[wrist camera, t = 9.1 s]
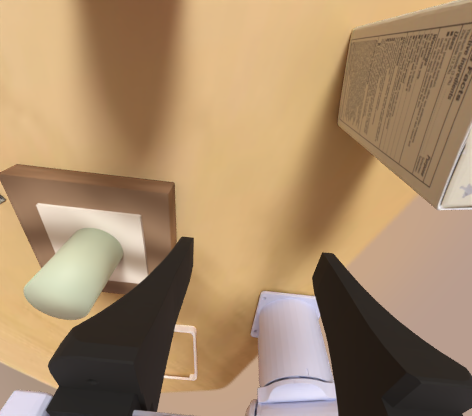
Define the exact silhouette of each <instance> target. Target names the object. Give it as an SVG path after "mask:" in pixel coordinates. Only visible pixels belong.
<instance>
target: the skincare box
mask: <svg viewBox="0 0 472 416" xmlns="http://www.w3.org/2000/svg"><path fill="white" fill-rule="evenodd" d="M337 124H338V126H339V127H340V128H341V129H343V130H344V131H345V132H346V133H347V134H349V135H350V136H351V137H352V138H353V139H355V140H356V141H357V142H358V143H359V144H360V145H362V146H363V147H364V148H365V149H366V150H367V151H369V152H370V153H371V154H372V155H373V156H375V157H376V158H377V159H378V160H379V161H380V162H381V163H383V164H384V165H385V166H386V167H387V168H388V169H390V170H391V171H392V172H393V173H394V174H396V175H397V176H398V177H399V178H400V179H402V180H403V181H404V182H405V183H406V184H407V185H409V186H410V187H411V188H412V189H413V190H414V191H416V192H417V193H418V194H419V195H420V196H421V197H423V198H424V199H425V200H426V201H427V202H428V203H430V204H431V205H432V206H433V207H434V208H436V209H437V210H471V209H472V0H456V1H452V2H449V3H445V4H441V5H438V6H434V7H430V8H426V9H423V10H419V11H415V12H411V13H407V14H403V15H400V16H396V17H392V18H389V19H385V20H381V21H377V22H374V23H369V24H366V25H362V26H359V27H356V28H354V29H353V30H352V33H351V39H350V44H349V50H348V56H347V62H346V68H345V74H344V80H343V87H342V93H341V100H340V106H339V115H338V123H337Z"/></svg>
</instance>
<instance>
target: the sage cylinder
mask: <svg viewBox="0 0 472 416" xmlns="http://www.w3.org/2000/svg"><path fill="white" fill-rule="evenodd" d="M122 257H123V249H122V246H121V244H120V243H119V241H118V240H117V239H116V238H115V237H113V236H112V235H110V234H109V233H107V232H105V231H103V230H100V229H96V228H83V229H80V230H78V231H77V232H75V233H74V234H73V236H72V237H71V238H70V239H69V240H68V241H67V242H66V243H65V244H64V245H63V246H62V247H61V248H60V249H59V250H58V251H57V253H56V254H55V255H54V256H53V257H52V258H51V259H50V260H49V261H48V262H47V263H46V264H45V265H44V266H43V267H42V268H41V269H40V271H39V272H38V273H37V274H36V275H35V276H34V277H33V278H32V279H31V280H30V281H29V282H28V283H27V284H26V286H25V287H24V295H25V298H26V299H27V301H28V302H29V303H30V304H31V305H32V306H33V307H35V308H36V309H38V310H39V311H41V312H43V313H45V314H47V315H50V316H52V317H56V318H60V319H66V320H76V319H81V318H83V317H85V316H86V315H88V313H89V312H90V310H91V308H92V307H93V305H94V303H95V302H96V300H97V298H98V297H99V295H100V293H101V292H102V290H103V288H104V287H105V285H106V284H107V282H108V280H109V279H110V277H111V275H112V274H113V272H114V270H115V269H116V267H117V265H118V264H119V262H120V260H121V259H122Z"/></svg>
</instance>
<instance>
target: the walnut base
mask: <svg viewBox="0 0 472 416" xmlns="http://www.w3.org/2000/svg"><path fill="white" fill-rule="evenodd" d="M0 181H1V183H2V185H3V187H4V189H5V191H6V194H7V196H8V198H9V200H10V202H11V204H12V206H13V208H14V211H15V213H16V215H17V217H18V219H19V221H20V223H21V226H22V228H23V230H24V232H25V234H26V236H27V238H28V241H29V243H30V245H31V247H32V249H33V251H34V253H35V256H36V258H37V260H38V262H39V264H40V266H41V268H42V267H43V266H44V265H45V264H46V263H47V262H48V261H49V260H50V259H51V258H52V257H53V256H54V255H55V254H56V253H57V251H58V250H59V249H60V248H61V247H62V246H63V245H64V244H65V243H66V242H67V241H68V240H69V239H70V238H71V237H72V236H73V234H74V233H75V232H77V231H78V230H80V229H83V228H96V229H100V230H103V231H105V232H107V233H109V234H110V235H112V236H113V237H115V238H116V239H117V240H118V241H119V243H120V244H121V246H122V249H123V257H122V259H121V260H120V262H119V264H118V265H117V267H116V269H115V270H114V272H113V274H112V275H111V277H110V279H109V280H108V282H107V284H106V285H105V287H104V288H103V290H102V292H108V293H118V294H127V293H128V292H129V291H131V290H132V289H133V288H134V287H136V286H137V285H138V284H139V283H140V282H141V281H143V280H144V279H145V278H146V277H147V276H148V275H149V274H150V273H151V272H152V271H153V270H154V269H155V268H156V267H157V266H158V265H159V264H160V263H161V262H162V261H163V260H164V258H165V257H166V256H167V255H168V254H169V253H170V251H171V250H172V249H173V248H174V246H175V245H176V215H175V185H174V183H173V182H164V181H156V180H147V179H139V178H130V177H121V176H113V175H104V174H96V173H87V172H79V171H70V170H61V169H53V168H44V167H36V166H27V165H19V164H16V165H14V166H12V167H10V168H8V169H6V170H4V171H2V172H0Z"/></svg>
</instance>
